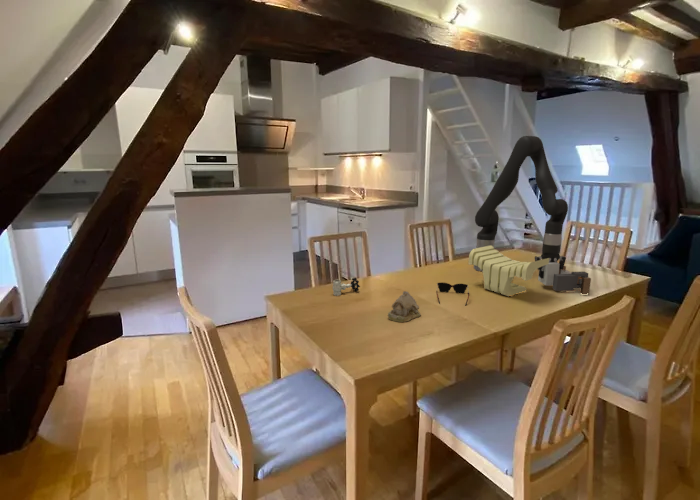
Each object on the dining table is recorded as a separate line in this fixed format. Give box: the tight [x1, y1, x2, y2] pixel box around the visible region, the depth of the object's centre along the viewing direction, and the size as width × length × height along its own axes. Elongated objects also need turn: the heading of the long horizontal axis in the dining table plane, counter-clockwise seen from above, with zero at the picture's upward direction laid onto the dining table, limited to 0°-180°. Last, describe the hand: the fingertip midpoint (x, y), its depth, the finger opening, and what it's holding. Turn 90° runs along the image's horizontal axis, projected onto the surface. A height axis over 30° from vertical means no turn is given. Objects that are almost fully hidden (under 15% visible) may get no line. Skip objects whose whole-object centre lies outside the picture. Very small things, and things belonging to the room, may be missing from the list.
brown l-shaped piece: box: [559, 265, 592, 294], centre depth 186 cm, size 10×21×8 cm, turn 2°
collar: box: [552, 271, 589, 292], centre depth 181 cm, size 14×3×8 cm, turn 92°
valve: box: [332, 277, 361, 297], centre depth 182 cm, size 7×7×12 cm
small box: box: [537, 261, 560, 286], centre depth 186 cm, size 8×6×10 cm
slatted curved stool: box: [468, 245, 549, 297], centre depth 182 cm, size 30×16×18 cm, turn 33°
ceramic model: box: [387, 290, 422, 323], centre depth 155 cm, size 14×11×10 cm
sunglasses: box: [435, 282, 470, 307], centre depth 174 cm, size 14×16×5 cm
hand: (547, 277), depth 186 cm, fingers closed on small box, 5 cm apart
